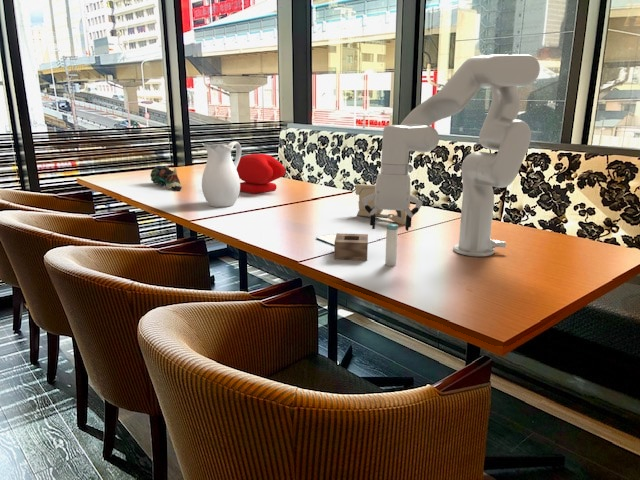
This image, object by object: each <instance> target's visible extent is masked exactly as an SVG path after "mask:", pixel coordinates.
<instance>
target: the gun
mask: <svg viewBox="0 0 640 480" xmlns="http://www.w3.org/2000/svg"><path fill="white" fill-rule="evenodd" d="M375 186H376V184H364V183H363V184H360V183H359V184H355V195H357V196H358V211H357V213H356V216H358V217H364V218H365V217H366V218H371V215H370V213H369V212H368V211H367V210H366V209H365V207H364V205H363V203H362V199H363V198H365V197H367V196H369V195H371V194H374V193H375ZM367 203H368V205H369V206H370V207H371V208H373V207H374V206H375V205H374V199H372V200H370V201H368V202H367ZM383 211H384V210H382V209H378V211H377V212H376V213H375V214H376V217H375V219H378V218H380V219H387V220H391V221H392V222H393V223H397V224H398V225H403V226H404V225H406V216H407V213H406V212H405V210H395V212H396V214H393V213H390V214H386V213H382V212H383Z"/></svg>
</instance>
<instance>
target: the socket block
mask: <svg viewBox="0 0 640 480" xmlns="http://www.w3.org/2000/svg"><path fill="white" fill-rule="evenodd" d="M335 235H336V238H335V245H334V246H333V247H334V253H333V254H334V255H333V256H334V260H344V261H345V260H349V261H368V248H369V245H368V243H369V242H368V241H369V238H368V237H369V234H368V233H367V234H366V233H336V234H335Z"/></svg>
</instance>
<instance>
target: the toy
mask: <svg viewBox="0 0 640 480" xmlns="http://www.w3.org/2000/svg"><path fill="white" fill-rule="evenodd" d="M236 170H237V173H238V175H239V179H240V180H241V181H242V182H241V181H240V192H244V193H248V194H253V195H254V194H261V193H267V192H272V191H276V190H277V189H278V188H277V184H276V183H274V181H276V180H278V179H280V178H283V177H284V176H285V174H286V167H285V166H284V165H283V164H282V163H281V162H280V161H279V160H278V159H276V158H275V157H274V156H271V155H269V154H265V153H245V154H241V158H240V161H239V163H238V166H237V169H236Z"/></svg>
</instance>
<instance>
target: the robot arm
mask: <svg viewBox="0 0 640 480" xmlns="http://www.w3.org/2000/svg"><path fill="white" fill-rule="evenodd" d="M540 71H541V65H540V63H539V61H538V59H537V58H536V57H535V56H533V55H531V54H486V55H477V56H472V57H470V58H468V59H466V60H465V61H464V62H463V63H462V64H461V65H460V66H459V67H458V69H457V70H456V71H455V72H454V74H452V76H451V77H450V78H449V79H448V81H447V82H445V84H444V86H442V87H441V88H440V90H439V91H438V92H436V93H435V94H433V95H432V96H430V97H429V98H426V100H425V101H422V103H420V104H419V105H417V106H416V107H414V108H413V109H412V110H411V111H410V112H409V113H408V114H407V116H406V117H405V118H403V120H402V122H401V123H400V124H387V125H386V126H384V128H383V130H382V145H381V159H380V160H381V161H380V172H379V173H377V176H376V181H375V185H376V186H375V193H374V194H371V195H369V196H367V197H365V198H363V199H362V203H363V205H364V207H365V209H366V210H367V211H368V212H369V213H370V215H371V217H369V219H370V220H369V222H370V223H369V226H372V227H371V228H372V230H374V229H376V218H375V217H376V214H375V213H376V212H377V211H378V209H382V210H383V211H384V210H386V211H387V210H388V211H396V210H405V212H406V213H407V216H406V224H404V225H405V226H404V228H405V231H407V232H408V231H409V229H410V228H412V217H413V216H414V215H416V214H417V213H418V212H419V210H420V209H421V208H422V205H423V203H424V202H423V201H421V200H420V199H418V198H416V197H415V196H413V195H412V194H411V176H410V174H408V173H409V172H413V171H414V167H413V166H411V165H409V158H410V156H409V155H410V152H418V153H429V152H431V151H433V150H434V149H436V147H438V145H439V141H440V135H439V132H438V131H437V129H435V128H434V127H433V126H431V125H433V124H435V123H436V122H438V121H441V120H442V119H443V120H444V119H447V118H450V117H452V116H454V115H456V114H459V113H460V112H462V111H463V110H464V108H465V107H466V106H467V105H468V104H469V103H470V102H471V100H472V99H473V98H474V97H475V96H476V94H478V92H479V91H480V90H481V89H482V88H483V87H485V88H487V87H490V89H491V96H492V97H491V104H490V106H489V109H488V111H487V114H486V117H485V119H484V121H483V124H482V126H481V129H480V131H479V135H478V142H479V144H480V145H481V146H482V147H483V148H485V149H487V150H491V151H497V153H493V152H486V151H474V152H471V153H469V154H468V155H466V157H464V159H463V161H462V164H461V167H460V168H461V179H462V199H461V212H460V225H459V235H458V236H459V237H458V243H456V244H454V245H453V248H452V249H453V251H454V253H457V254H458V255H459V254H460V255H462V256H468V257H489V256H492V255H494V253H495V248H500V249H501V248H503V249H505V248H506V245H507V244H506V241H500V240H498V239H492V237H491V235H492V227H493V226H492V223H493V216H494V205H495V192H494V189H493V187H494V188H500V189H501V188H506V187H509V186H510V185H511V184H512V183H513V182H514V181H515V179H516V177H517V175H518V173H519V171H520V168H521V166H522V164H523V162H524V159H525V157H526V154H527V152H528V149H529V147H530V145H531V144H530V143H531V139H532V133H531V129H530V126H529V125H528V123H527V122H525V121H524V120H522V119H518V116H519V112H520V109H521V103H522V101H521V96H520V94H519V90H518V87H527V86H529V85H531V84H533V83H535V81H536V80H537V79H538V77H539V75H540ZM372 199H374V205H375V206H374V207H373V208H371V207H370V206H369V205H368V203H367V202H368V201H370V200H372ZM411 202H413V203H414V204H416V205H415V206H414V207H413V208H412V209H410V207H411Z"/></svg>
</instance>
